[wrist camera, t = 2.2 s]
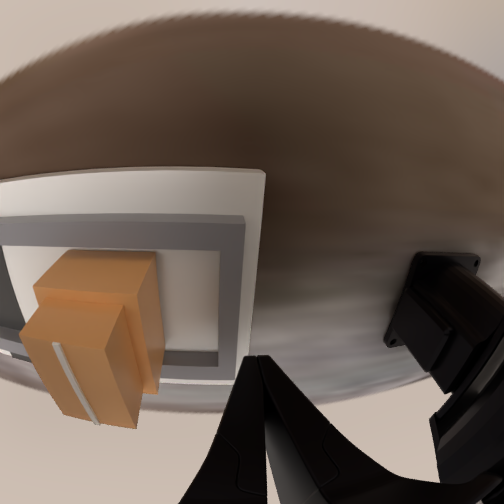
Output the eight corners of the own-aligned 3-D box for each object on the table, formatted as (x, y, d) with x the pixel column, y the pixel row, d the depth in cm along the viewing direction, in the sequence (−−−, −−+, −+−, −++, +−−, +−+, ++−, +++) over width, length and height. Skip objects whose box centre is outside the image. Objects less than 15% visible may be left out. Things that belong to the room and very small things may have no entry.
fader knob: (155, 252, 10) (118, 342, 6) (165, 345, 12) (151, 437, 8) (67, 249, 10) (1, 322, 5) (90, 338, 12) (56, 419, 7)
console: (261, 169, 11) (270, 178, 9) (243, 368, 15) (247, 398, 13) (-58, 192, 8) (-79, 202, 6) (-16, 334, 13) (-29, 352, 11)
